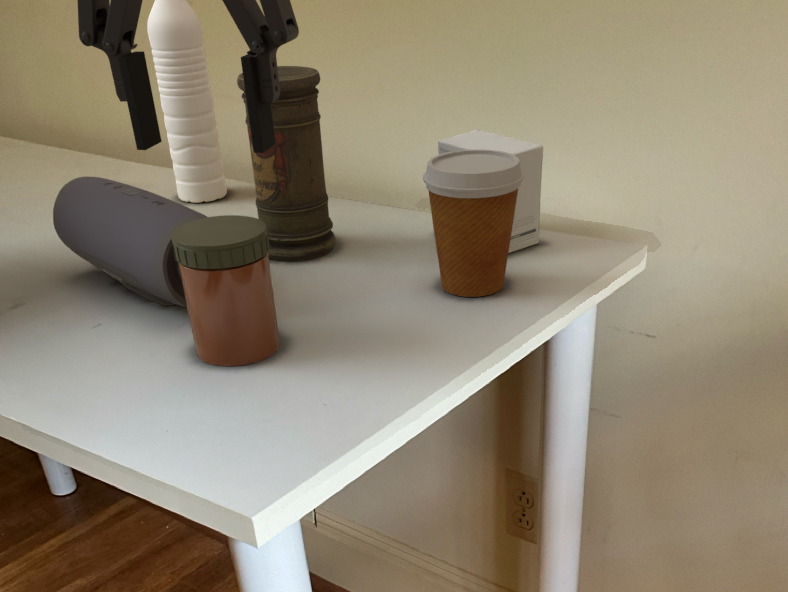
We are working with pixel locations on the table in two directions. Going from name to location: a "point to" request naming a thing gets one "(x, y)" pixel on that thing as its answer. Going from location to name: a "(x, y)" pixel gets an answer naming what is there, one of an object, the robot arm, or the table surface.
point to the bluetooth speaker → (124, 234)
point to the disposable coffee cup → (473, 217)
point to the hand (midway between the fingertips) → (206, 146)
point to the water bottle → (186, 100)
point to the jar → (232, 312)
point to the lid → (220, 242)
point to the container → (293, 171)
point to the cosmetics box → (530, 188)
